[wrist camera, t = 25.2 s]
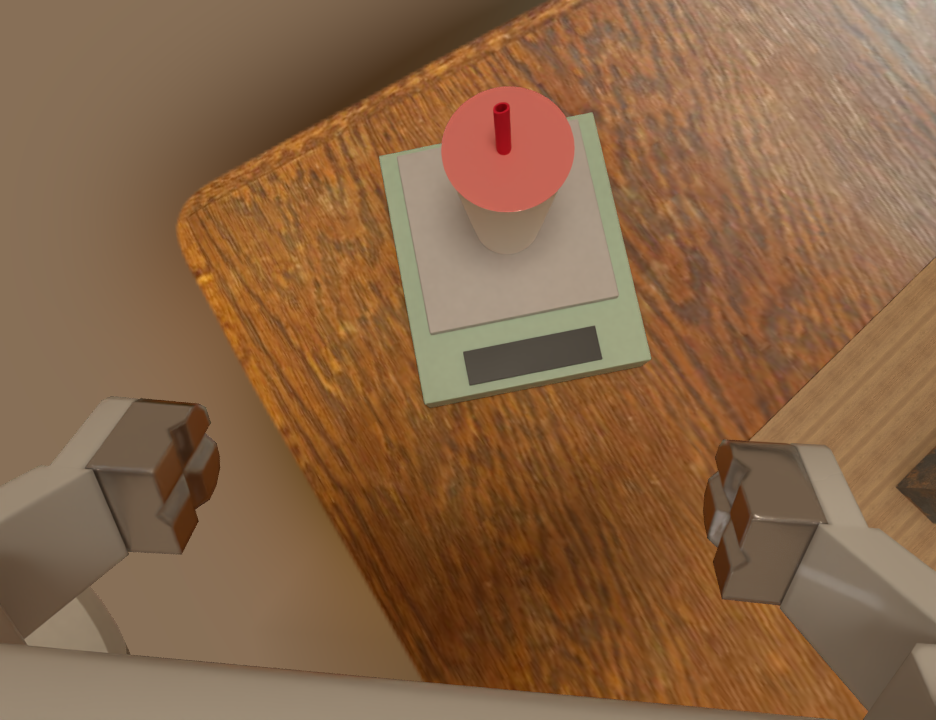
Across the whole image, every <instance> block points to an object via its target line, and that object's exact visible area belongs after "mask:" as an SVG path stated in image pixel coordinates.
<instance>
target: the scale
mask: <svg viewBox="0 0 936 720" xmlns="http://www.w3.org/2000/svg"><path fill="white" fill-rule="evenodd" d="M566 119H567V120H568V122H569V125H570V127H571V130H572V133H573V137H574V146H575V151H574V160H573V164H572V167H571V170H570V172H569V175H568V177H567V178H566V180H565V182H564V183H563V185H562V186H561V187H560V188H559V190H558V192H557V194H556V196H555V198H554V200H553V203H552V205H551V207H550V209H549V211H548V213H547V215H546V218H545V220H544V222H543V224H542V226H541V228H540V230H539V232H538V234H537V236H536V238H535V239H534V241H533V242H532V243H531V244H530V245H529V246H528V247H527V248H526V249H524V250H522V251H520V252H518V253H514V254H499V253H496V252H493V251H491V250H489V249H488V248H487V247H485V246H484V245H483V244H482V243H481V241H480V240H479V238H478V236H477V234H476V232H475V230H474V228H473V226H472V224H471V222H470V219H469V217H468V215H467V213H466V210H465V208H464V206H463V204H462V202H461V199H460V197H459V195H458V192H457V190H456V189H455V188H454V187H453V185H452V184H451V182H450V181H449V179H448V177H447V175H446V172H445V170H444V166H443V162H442V155H441V146H442V143H441V144H436V145H431V146H427V147H422V148H417V149H412V150H407V151H402V152H397V153H393V154H388V155H383V156H379V160H380V165H381V171H382V176H383V182H384V187H385V192H386V198H387V203H388V209H389V214H390V220H391V225H392V231H393V236H394V241H395V247H396V252H397V258H398V263H399V269H400V274H401V280H402V285H403V290H404V296H405V301H406V307H407V312H408V318H409V323H410V329H411V334H412V339H413V345H414V350H415V356H416V361H417V367H418V372H419V378H420V383H421V388H422V394H423V399H424V404H425V405H427V406H428V407H429V408H433V407H438V406H443V405H448V404H453V403H458V402H463V401H468V400H473V399H478V398H483V397H488V396H493V395H498V394H503V393H508V392H513V391H518V390H523V389H529V388H534V387H539V386H544V385H549V384H554V383H559V382H564V381H569V380H574V379H579V378H584V377H589V376H594V375H599V374H604V373H609V372H614V371H619V370H625V369H630V368H635V367H640V366H643V365H644V364H645V363H647V362H648V361H650V360H651V355H650V351H649V347H648V342H647V338H646V334H645V330H644V326H643V321H642V317H641V313H640V309H639V305H638V300H637V296H636V292H635V288H634V284H633V279H632V275H631V271H630V267H629V263H628V258H627V254H626V250H625V246H624V241H623V237H622V233H621V229H620V225H619V220H618V216H617V212H616V208H615V204H614V199H613V195H612V191H611V187H610V183H609V178H608V174H607V170H606V166H605V162H604V157H603V153H602V149H601V145H600V141H599V136H598V132H597V128H596V124H595V120H594V115H593V113H592V112H591V113H587V114H582V115H577V116H572V117H567V118H566Z"/></svg>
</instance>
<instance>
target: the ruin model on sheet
mask: <svg viewBox="0 0 936 720" xmlns="http://www.w3.org/2000/svg"><path fill="white" fill-rule="evenodd" d="M749 441H757V442H773V443H787V444H791V443H799V444H818V445H826V446H827V447H829V448H830V449H831V450H832V453H833V455H834V457H835V459H836V461H837V463H838V465H839V467H840V469H841V471H842V473H843V475H844V477H845V479H846V481H847V483H848V486H849V488H850V490H851V492H852V494H853V496H854V498H855V500H856V502H857V504H858V506H859V508H860V510H861V512H862V514H863V517H864V519H865V521H866V523H867V525H868V527H869V528H879V529H881V530H882V531H883V532H884V533H886V534H887V535H888V536H890V537H891V538H892V539H894V540H895V541H896V542H898V543H899V544H900V545H901V546H903V547H904V548H905V549H907V550H908V551H909V552H911V553H912V554H913V555H915V556H916V557H917V558H919V559H920V560H921V561H922V562H924V563H925V564H926V565H928V566H929V567H930V568H932V569H933V570H934V571H936V258H935V259H934V260H933V261H932V262H930V263H929V264H928V265H927V266H926V267H925V268H924V269H923V270H922V271H921V272H920V273H919V274H918V275H917V276H916V277H915V278H914V279H913V280H912V281H911V282H910V283H909V284H908V285H907V286H906V287H905V288H904V289H903V290H902V291H901V292H900V293H899V294H898V295H897V296H896V297H895V298H894V299H893V300H892V301H891V302H890V303H889V304H888V305H887V306H886V307H885V308H884V309H883V310H882V311H881V312H880V313H879V314H878V315H877V316H876V317H875V318H874V319H873V320H871V321H870V322H869V323H868V324H867V325H866V326H865V327H864V328H863V329H862V330H861V331H860V332H859V333H858V334H857V335H856V336H855V337H854V338H853V339H852V340H851V341H850V342H849V343H848V344H847V345H846V346H845V347H844V348H843V349H842V350H841V351H840V352H839V353H838V354H837V355H836V356H835V357H834V358H833V359H832V360H831V361H830V362H829V363H828V364H827V365H826V366H825V367H824V368H823V369H822V370H821V371H820V372H819V373H818V374H817V375H816V376H815V377H814V378H812V379H811V380H810V381H809V382H808V383H807V384H806V385H805V386H804V387H803V388H802V389H801V390H800V391H799V392H798V393H797V394H796V395H795V396H794V397H793V398H792V399H791V400H790V401H789V402H788V403H787V404H786V405H785V406H784V407H783V408H782V409H781V410H780V411H779V412H778V413H777V414H776V415H775V416H774V417H773V418H772V419H771V420H770V421H769V422H768V423H767V424H766V425H765V426H764V427H763V428H762V429H761V430H760V431H759V432H758V433H757V434H756V435H755V436H753V437H752V438H751V439H750V440H749Z"/></svg>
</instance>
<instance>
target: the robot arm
mask: <svg viewBox="0 0 936 720" xmlns="http://www.w3.org/2000/svg"><path fill="white" fill-rule="evenodd" d="M210 424H211V421H210V418H209V415H208V412H207V409H206V407H204V406H202V405H201V404H197V403H186V402H175V401H164V400H152V399H142V398H141V399H135V398H124V397H114V396H111V397H108V398H106V399H104V400H102V401H101V402H100V403H99V405H98V406H97V407H96V408H95V410H94V411H93V412H92V414H91V415H90V416H89V417H88V418H87V420H86V421H85V422H84V423H83V425H82V426H81V427H80V429H79V430H78V431H77V432H76V433H75V435H74V436H73V437H72V438H71V440H70V441H69V442H68V443H67V445H66V446H65V447H64V448H63V450H62V451H61V452H60V453H59V455H58V456H57V457H56V458H55V460H54V461H53V462H52V463H51V465H50V466H38V467H36V468H34V469H32V470H30V471H28V472H27V473H25V474H23V475H21V476H19V477H17V478H15V479H13V480H11V481H10V482H7V483H5V484H4V485H2V486H0V720H835V719H824V718H813V717H802V716H791V715H780V714H770V713H759V712H748V711H737V710H726V709H715V708H705V707H694V706H683V705H672V704H661V703H650V702H639V701H628V700H616V699H605V698H594V697H583V696H572V695H561V694H550V693H539V692H528V691H517V690H506V689H495V688H484V687H473V686H462V685H451V684H441V683H430V682H419V681H408V680H397V679H387V678H376V677H365V676H354V675H343V674H332V673H321V672H311V671H300V670H290V669H279V668H268V667H257V666H246V665H235V664H225V663H214V662H213V663H212V662H202V661H192V660H181V659H170V658H159V657H149V656H137V655H127V654H116V653H105V652H94V651H83V650H72V649H62V648H51V647H40V646H29V645H27V643H26V642H25V640H24V639H25V638H26V637H28V636H29V635H30V634H31V633H33V632H34V631H35V630H36V629H37V628H39V627H40V626H41V625H42V624H44V623H45V622H46V621H47V620H49V619H50V618H51V617H52V616H54V615H55V614H56V613H57V612H58V611H60V610H61V609H62V608H63V607H65V606H66V605H67V604H68V603H70V602H71V601H72V600H73V599H74V598H76V597H77V596H78V595H79V594H81V593H82V592H83V591H84V590H86V589H87V588H88V587H89V586H91V585H92V584H93V583H94V582H95V581H97V580H98V579H99V578H100V577H102V576H103V575H104V574H105V573H106V572H108V571H109V570H110V569H112V568H113V567H114V566H115V565H116V564H118V563H119V562H120V561H121V560H123V559H124V558H125V557H126V556H127V555H128V554H129V553H128V552H144V553H162V554H163V553H164V554H182V553H183V550H184V549H185V547H186V545H187V543H188V541H189V539H190V537H191V535H192V533H193V531H194V529H195V527H196V525H197V523H198V518H197V514H196V511H195V509H197V508H198V507H199V506H201V505H202V504H204V503H205V502H207V501H208V500H210V498H211V495H212V494H213V492H214V489H215V487H216V485H217V480H218V475H219V470H220V456H219V451H218V447H217V443H216V442H215V441H213V440H212V439H211V438H210V437H209V436H208V435H207V434H206V433H205V432H206V431H207V429H208V427H209V425H210ZM715 460H716V464H717V468H718V472H717V473H716V474H714V475H713V476H712V477H710V478H709V479H708V483H707V486H706V490H705V494H704V506H703V515H704V525H705V530H706V534H707V538H708V539H709V540H710V541H711V542H712V543H713V544H714V545H715V546H716V547H717V551H716V554H715V557H714V560H713V564H714V569H715V573H716V577H717V581H718V585H719V589H720V593H721V597H722V599H726V600H735V601H745V602H754V603H763V604H772V605H781V606H780V609H781V610H782V611H783V613H784V614H785V615H786V616H787V617H788V618H789V620H790V621H791V622H792V623H793V624H794V625H795V627H796V628H797V629H798V630H799V631H800V632H801V634H802V635H803V636H804V637H805V638H806V639H807V641H808V642H809V643H810V644H811V645H812V646H813V648H814V649H815V650H816V651H817V652H818V653H819V655H820V656H821V657H822V658H823V659H824V660H825V661H826V663H827V664H828V665H829V666H830V667H831V668H832V670H833V671H834V672H835V673H836V674H837V675H838V677H839V678H840V679H841V680H842V681H843V682H844V684H845V685H846V686H847V687H848V688H849V689H850V691H851V692H852V693H853V694H854V695H855V696H856V698H857V699H858V700H859V701H860V702H861V703H862V705H863V706H864V707H865V708H866V709H867V710H868V713H867V714H866V716H865V717H864V719H863V720H936V571H934V570H933V569H932V568H930V567H929V566H928V565H926V564H925V563H924V562H922V561H921V560H920V559H919V558H917V557H916V556H915V555H913V554H912V553H911V552H909V551H908V550H907V549H905V548H904V547H903V546H901V545H900V544H899V543H898V542H896V541H895V540H894V539H892V538H891V537H890V536H888V535H887V534H886V533H884V532H883V531H882V530H881V529H879V528H869V527H868V525H867V523H866V521H865V519H864V517H863V514H862V512H861V510H860V508H859V506H858V504H857V502H856V500H855V498H854V496H853V494H852V492H851V490H850V488H849V486H848V483H847V481H846V479H845V477H844V475H843V473H842V471H841V469H840V467H839V465H838V463H837V461H836V459H835V457H834V455H833V453H832V450H831V449H830V448H829V447H827V446H826V445H818V444H799V443H791V444H787V443H773V442H757V441H740V440H724V439H723V441H722V442H721V444H720V445H719V447H718V450H717V453H716V456H715Z"/></svg>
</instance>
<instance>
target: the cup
mask: <svg viewBox="0 0 936 720" xmlns="http://www.w3.org/2000/svg"><path fill="white" fill-rule="evenodd" d="M574 151H575V146H574V137H573V133H572V130H571V127H570V125H569V122H568V120H567V119H566V117H565V115H564V114H563V113H562V111H561V110H560V109H559V108H558V107H557V106H556V105H555V104H554V103H553V102H552V101H551V100H549V99H548V98H546V97H545V96H543V95H541V94H539V93H537V92H535V91H532V90H529V89H525V88H520V87H498V88H493V89H489V90H486V91H483V92H481V93H479V94H477V95H475V96H473V97H471V98H470V99H468V100H467V101H466V102H464V103H463V104H462V105H461V106H460V107H459V108H458V109H457V110H456V111H455V113H454V114H453V115H452V117H451V118H450V120H449V122H448V124H447V126H446V128H445V131H444V134H443V139H442V146H441V155H442V162H443V166H444V170H445V172H446V175H447V177H448V179H449V181H450V182H451V184H452V185H453V187H454V188H455V189H456V190H457V192H458V195H459V197H460V199H461V202H462V204H463V206H464V208H465V210H466V213H467V215H468V217H469V219H470V222H471V224H472V226H473V228H474V230H475V232H476V234H477V236H478V238H479V240H480V241H481V243H482V244H483V245H484V246H485V247H487V248H488V249H489V250H491V251H493V252H496V253H499V254H514V253H518V252H520V251H522V250H524V249H526V248H527V247H528V246H529V245H530V244H531V243H532V242H533V241H534V239H535V238H536V236H537V234H538V232H539V230H540V228H541V226H542V224H543V222H544V220H545V218H546V215H547V213H548V211H549V209H550V207H551V205H552V203H553V200H554V198H555V196H556V194H557V192H558V190H559V188H560V187H561V186H562V185H563V183H564V182H565V180H566V178H567V177H568V175H569V172H570V170H571V167H572V164H573V160H574Z"/></svg>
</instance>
